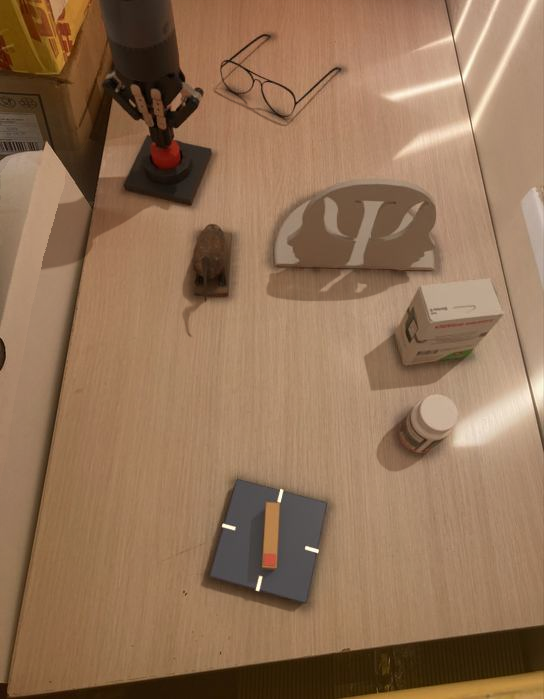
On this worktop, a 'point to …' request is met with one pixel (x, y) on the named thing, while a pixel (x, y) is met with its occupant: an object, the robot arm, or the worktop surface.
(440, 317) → the ink box
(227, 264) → the figurine
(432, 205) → the psi symbol sculpture
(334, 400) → the worktop surface
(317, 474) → the worktop surface
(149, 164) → the button base
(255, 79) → the glasses
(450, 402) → the pill bottle
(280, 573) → the plate
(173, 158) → the button
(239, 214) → the worktop surface
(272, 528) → the orange wooden bar
